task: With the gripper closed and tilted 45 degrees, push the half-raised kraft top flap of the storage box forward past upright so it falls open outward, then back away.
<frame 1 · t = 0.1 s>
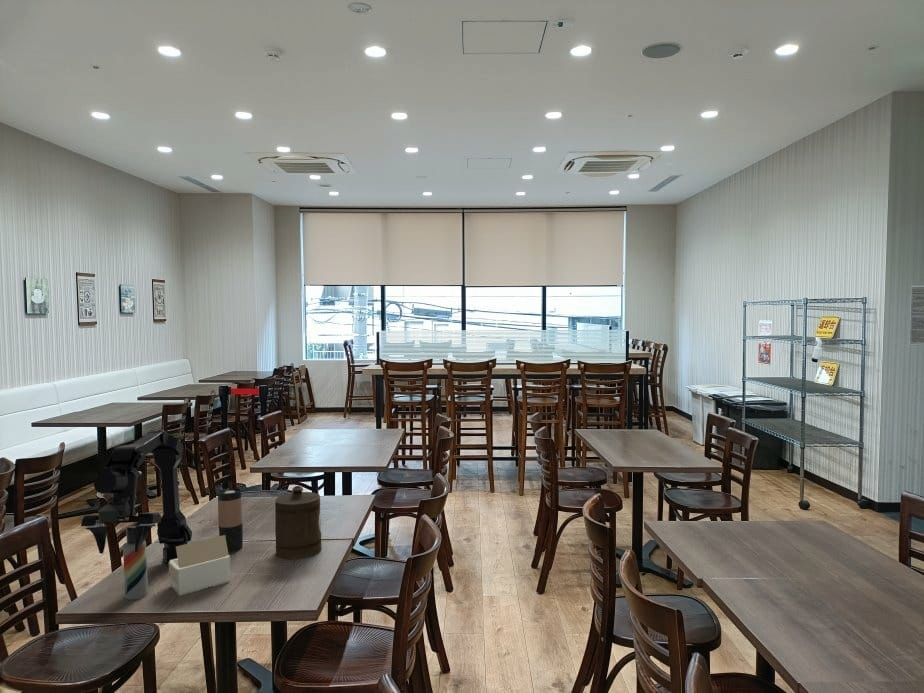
hand: (119, 552, 162), 15 cm above the table, tool pointing down, fingers open, 9 cm apart
travel mug: (231, 549, 206), on the table
wooden container: (299, 551, 203), on the table
storage box: (200, 583, 178), on the table
lotion bottle: (136, 596, 171), on the table
top flap: (202, 551, 175), point 11 cm above the table, hinge at 65.0°
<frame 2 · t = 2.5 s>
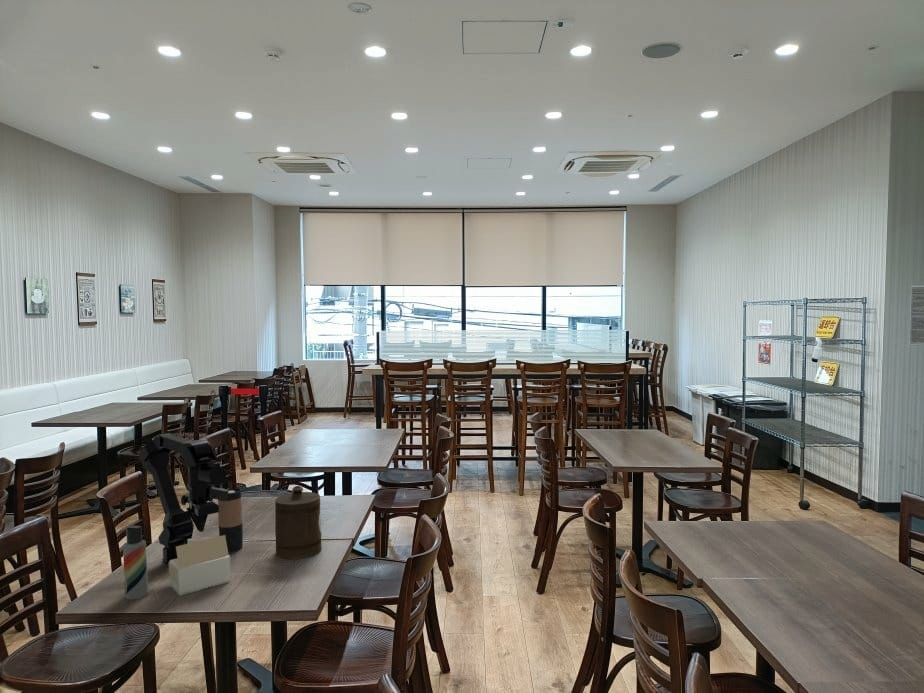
hand: (200, 530, 189), 12 cm above the table, tool pointing down, fingers closed
nothing on the table moved.
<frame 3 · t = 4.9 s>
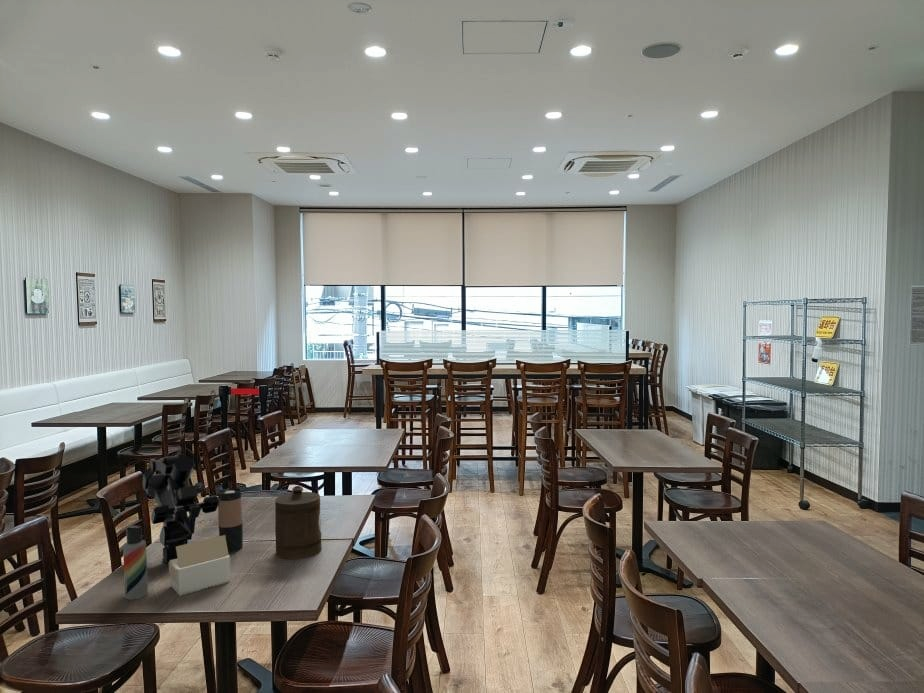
hand: (192, 533, 182), 14 cm above the table, tool tilted 45°, fingers closed
nothing on the table moved.
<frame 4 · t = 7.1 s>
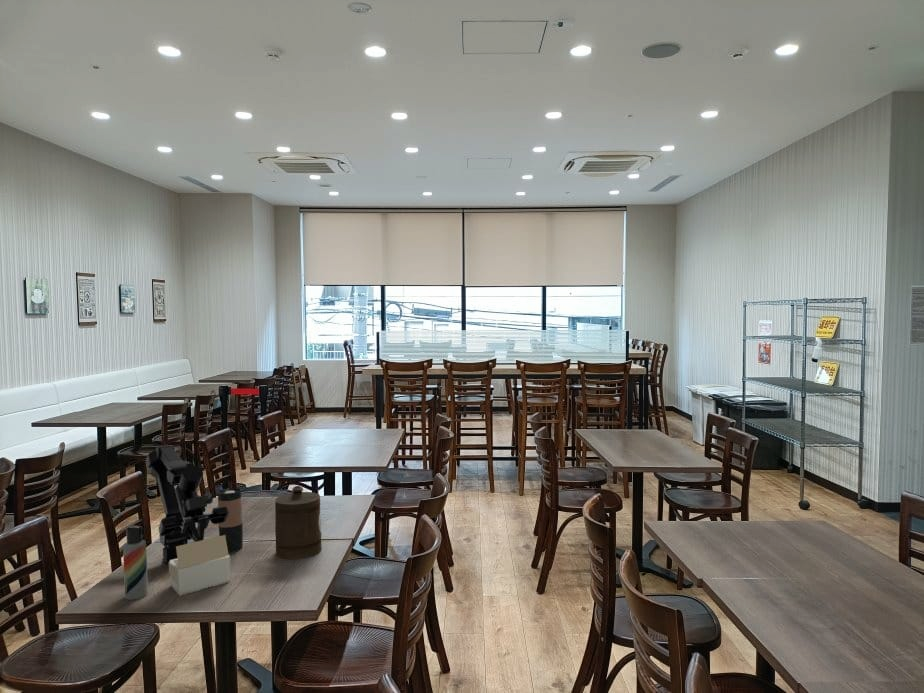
hand: (201, 545, 176), 12 cm above the table, tool tilted 45°, fingers closed, pressing on top flap
top flap: (202, 551, 175), point 11 cm above the table, hinge at 65.8°, touching gripper
everything else where it was.
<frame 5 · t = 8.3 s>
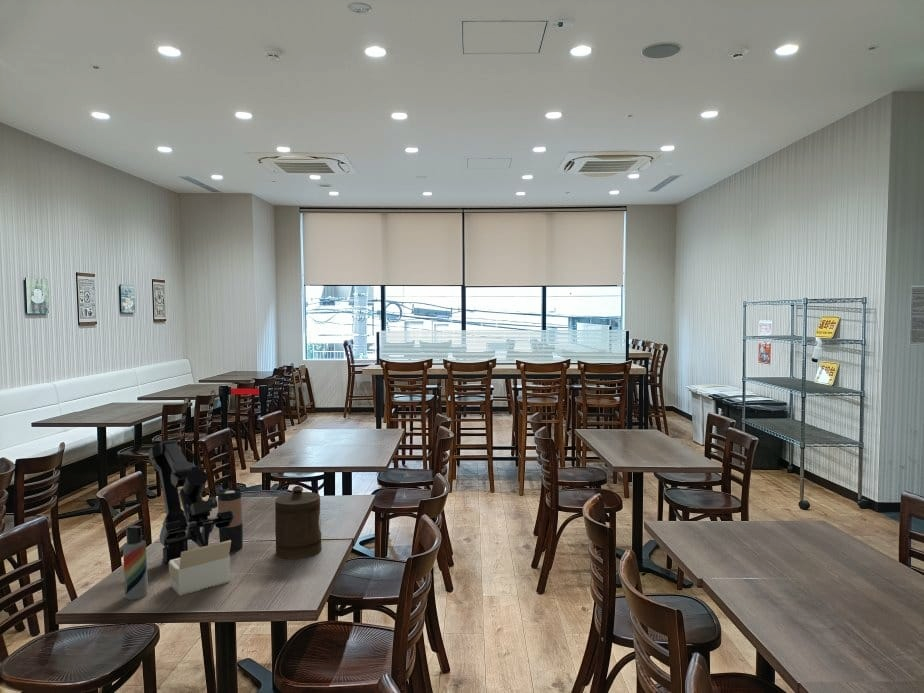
hand: (205, 550, 173), 12 cm above the table, tool tilted 45°, fingers closed, pressing on top flap
top flap: (205, 554, 173), point 10 cm above the table, hinge at 116.5°, touching gripper
everything else where it was.
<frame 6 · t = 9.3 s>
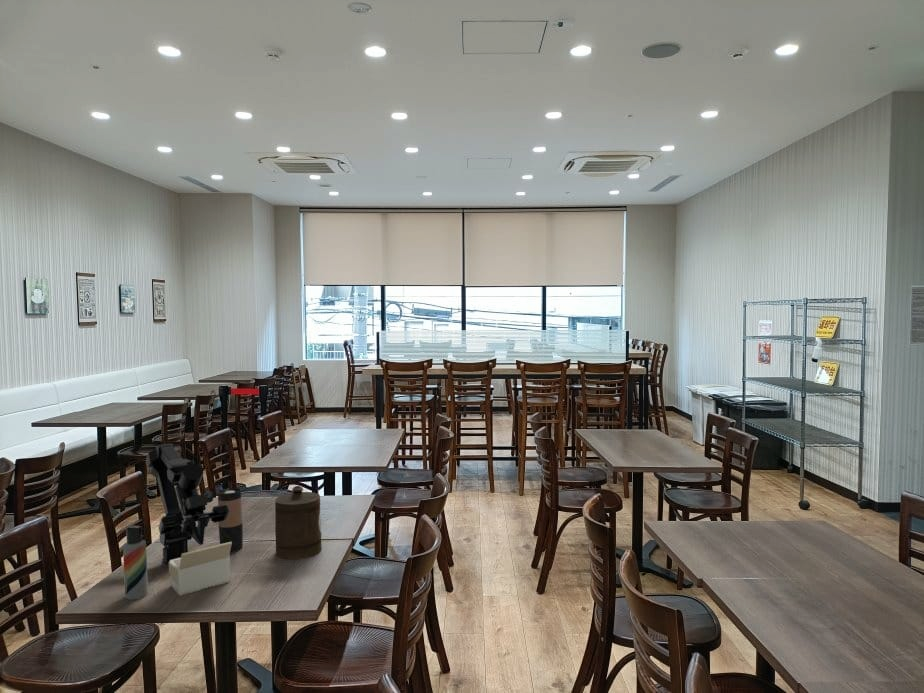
hand: (201, 544, 176), 12 cm above the table, tool tilted 45°, fingers closed
top flap: (205, 555, 173), point 10 cm above the table, hinge at 122.4°
everything else where it was.
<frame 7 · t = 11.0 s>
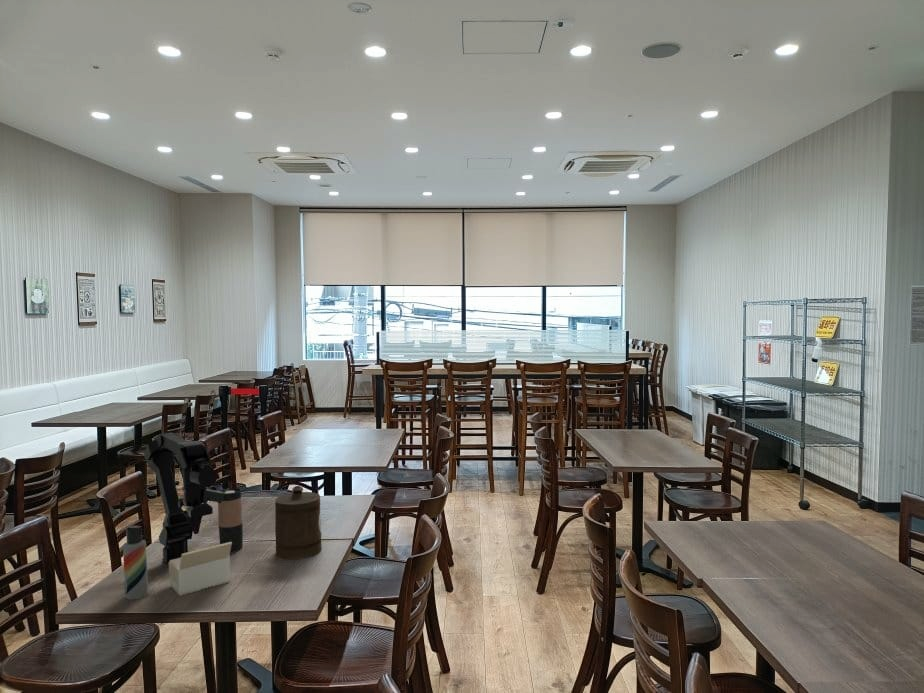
hand: (196, 533, 187), 12 cm above the table, tool pointing down, fingers closed
top flap: (206, 555, 173), point 10 cm above the table, hinge at 123.0°
everything else where it was.
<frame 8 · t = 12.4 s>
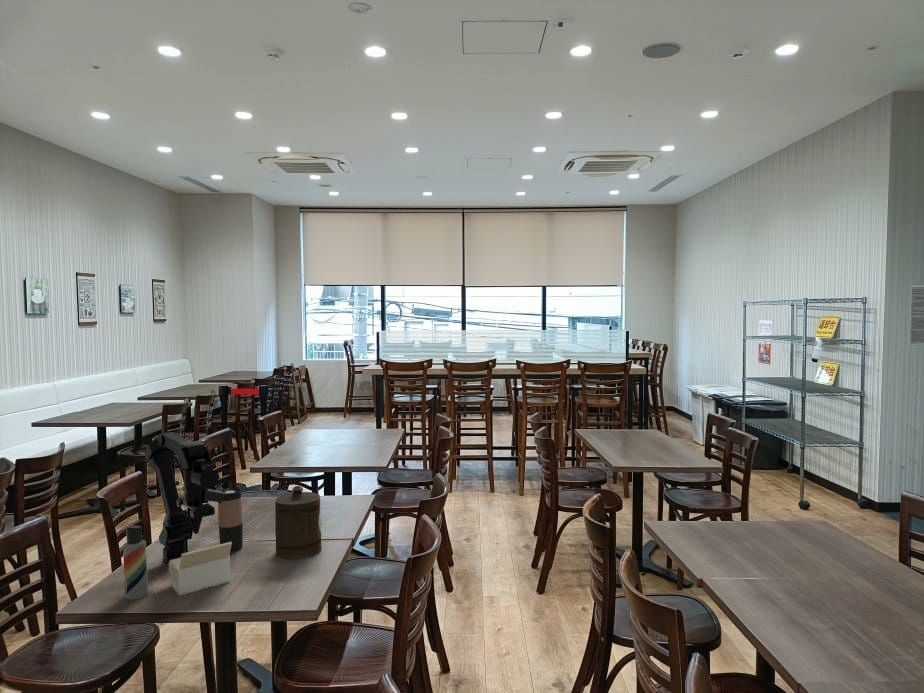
hand: (196, 533, 187), 12 cm above the table, tool pointing down, fingers closed
nothing on the table moved.
at the end: top flap at +123° (first picture: +65°); the gripper is holding nothing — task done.
